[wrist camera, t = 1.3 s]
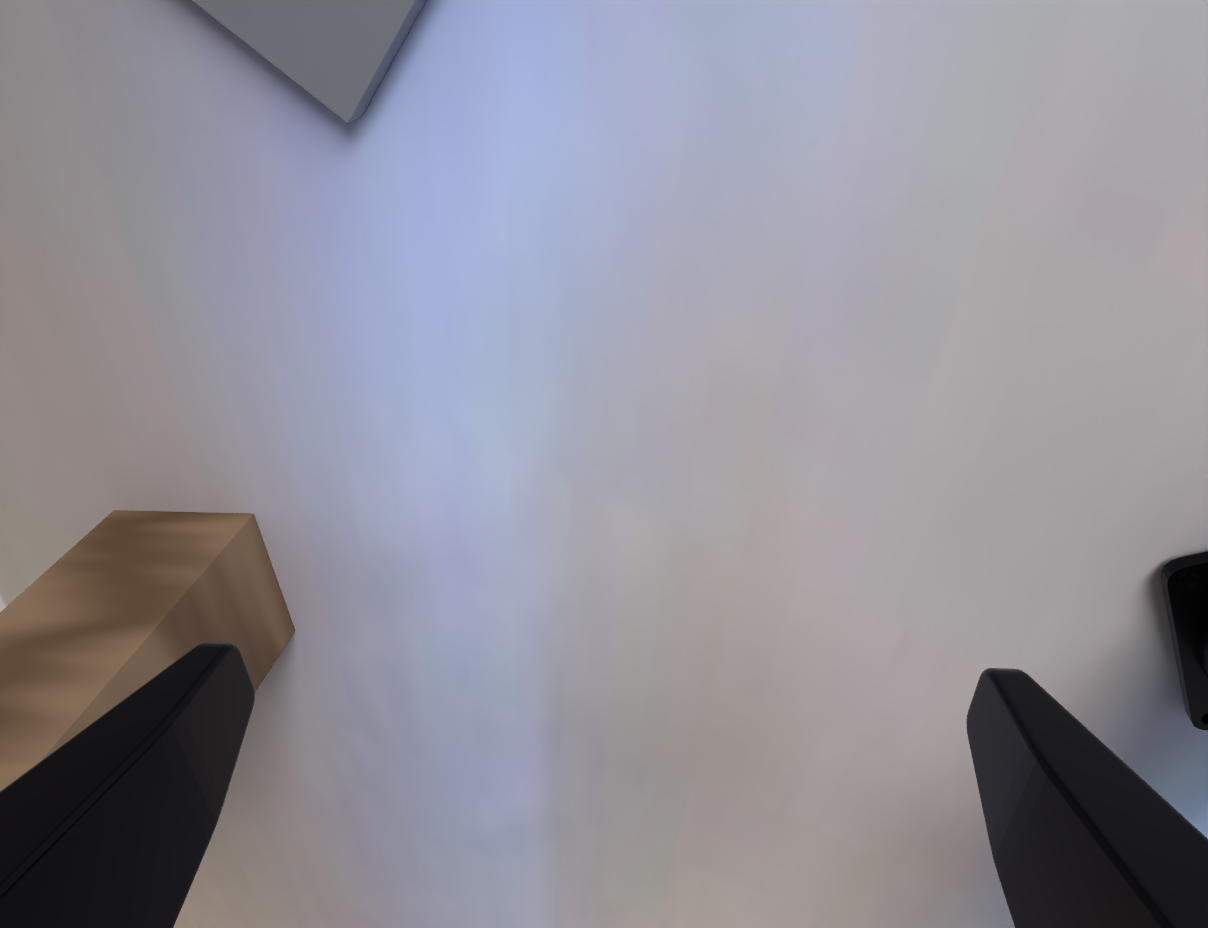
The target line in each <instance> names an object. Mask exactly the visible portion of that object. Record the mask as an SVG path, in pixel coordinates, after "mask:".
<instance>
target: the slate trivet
mask: <svg viewBox="0 0 1208 928" xmlns="http://www.w3.org/2000/svg"><path fill="white" fill-rule="evenodd" d="M192 1H193V2H195V3H196V4H197V5H198V6H200V7H201V8H202V9H204V10H205V11H206V12H207V13H209V14H210V15H211V16H212V17H214V18H215V19H216V20H217V21H219V22H220V23H221V24H223V25H224V26H225V27H226V28H228V29H229V30H230V31H231V32H233V33H234V34H235V35H237V36H238V37H239V38H240V39H242V40H243V41H244V42H245V43H247V44H248V45H249V46H250V47H252V48H253V49H254V50H256V51H257V52H258V53H259V54H261V55H262V56H263V57H264V58H266V59H267V60H268V61H269V62H271V63H272V64H273V65H275V66H276V67H277V68H278V69H280V70H281V71H282V72H283V73H285V74H286V75H287V76H288V77H290V78H291V79H292V80H294V81H295V82H296V83H297V84H299V85H300V86H301V87H302V88H304V89H305V90H306V91H308V92H309V93H310V94H311V95H313V96H314V97H315V98H316V99H318V100H319V101H320V102H321V103H323V104H324V105H325V106H327V107H328V108H329V109H330V110H332V111H333V112H334V113H335V114H337V115H338V116H339V117H340V118H342V119H343V120H344V121H346V122H347V123H349V122H351V121H353V120H356V119H358V118H360V117H361V116H362V115H363V113H364V111H365V109H366V107H367V106H368V104H369V102H370V100H371V98H372V97H373V95H374V93H375V91H376V90H377V88H378V86H379V84H380V82H381V81H382V79H383V77H384V75H385V73H386V72H387V70H388V68H389V66H390V64H391V63H392V61H393V59H394V57H395V55H396V54H397V52H398V50H399V48H400V46H401V45H402V43H403V41H404V39H405V38H406V36H407V34H408V32H409V30H410V29H411V27H412V25H413V23H414V21H415V20H416V18H417V16H418V14H419V12H420V11H421V9H422V7H423V5H424V3H425V2H426V0H192Z"/></svg>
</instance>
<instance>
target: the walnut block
mask: <svg viewBox="0 0 1208 928" xmlns="http://www.w3.org/2000/svg"><path fill="white" fill-rule="evenodd" d="M294 632H295V629H294V626H293V623H292V620H291V618H290V615H289V612H288V609H287V606H286V603H285V601H284V598H283V595H282V592H281V589H280V587H279V584H278V581H277V578H276V575H275V572H274V570H273V567H272V564H271V561H270V558H269V556H268V553H267V550H266V547H265V544H264V542H263V539H262V536H261V533H260V530H259V527H258V525H257V522H256V519H255V516H254V514H239V513H198V512H156V511H115V510H114V511H113V512H112V513H111V514H109V515H108V516H107V517H106V518H105V519H104V520H103V521H102V522H101V523H99V524H98V525H97V526H96V527H95V528H94V529H93V530H92V531H91V532H89V533H88V534H87V535H86V536H85V537H84V538H83V539H82V540H81V541H79V542H78V543H77V544H76V545H75V546H74V547H73V548H72V549H70V550H69V551H68V552H67V553H66V554H65V555H64V556H63V557H62V558H60V559H59V560H58V561H57V562H56V563H55V564H54V565H53V566H52V567H50V568H49V569H48V570H47V571H46V572H45V573H44V574H43V575H42V576H40V577H39V578H38V579H37V580H36V581H35V582H34V583H33V584H32V585H30V586H29V587H28V588H27V589H26V590H25V591H24V592H23V593H22V594H20V595H19V596H18V597H17V598H16V599H15V600H14V601H13V602H12V603H10V604H9V605H8V606H7V607H6V608H5V609H4V610H3V611H1V612H0V791H1V790H3V789H4V788H5V787H7V786H8V785H9V784H11V783H12V782H13V781H15V780H16V779H18V778H19V777H20V776H22V775H23V774H24V773H26V772H27V771H28V770H30V769H31V768H32V767H34V766H35V765H36V764H38V763H39V762H40V761H42V760H43V759H44V758H46V757H47V756H48V755H50V754H51V753H53V752H54V751H55V750H57V749H58V748H59V747H61V746H62V745H63V744H65V743H66V742H67V741H69V740H70V739H71V738H73V737H74V736H75V735H77V734H78V733H79V732H81V731H82V730H84V729H85V728H86V727H88V726H89V725H90V724H92V723H93V722H94V721H96V720H97V719H98V718H100V717H101V716H102V715H104V714H105V713H106V712H108V711H109V710H110V709H112V708H113V707H114V706H116V705H117V704H119V703H120V702H121V701H123V700H124V699H125V698H127V697H128V696H129V695H131V694H132V693H133V692H135V691H136V690H137V689H139V688H140V687H141V686H143V685H144V684H145V683H147V682H148V681H149V680H151V679H152V678H154V677H155V676H156V675H158V674H159V673H160V672H162V671H163V670H164V669H166V668H167V667H168V666H170V665H171V664H172V663H174V662H175V661H176V660H178V659H179V658H180V657H182V656H183V655H184V654H186V653H187V652H189V651H190V650H191V649H193V648H194V647H195V646H197V645H199V644H201V643H205V642H220V643H232V644H235V645H236V646H237V647H238V648H239V650H240V652H241V654H242V657H243V659H244V662H245V665H246V667H247V670H248V673H249V675H250V678H251V681H252V683H253V687H254V693H255V691H256V690H257V688H258V687H259V685H260V684H261V682H262V681H263V679H264V678H265V676H266V675H267V673H268V672H269V670H270V668H271V667H272V665H273V664H274V662H275V661H276V659H277V658H278V656H279V655H280V653H281V652H282V650H283V649H284V647H285V646H286V644H287V643H288V641H289V639H290V638H291V636H292V635H293V633H294Z"/></svg>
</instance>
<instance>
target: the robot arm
mask: <svg viewBox="0 0 1208 928" xmlns="http://www.w3.org/2000/svg"><path fill="white" fill-rule="evenodd" d="M1185 574H1190V575H1189V576H1188V577H1186V578H1183V579H1179V578H1180V577H1181V576H1183V575H1185ZM1161 579H1162V585H1163V590H1164V596H1165V601H1166V606H1167V612H1168V617H1169V623H1170V628H1171V634H1172V639H1173V645H1174V650H1175V655H1176V661H1177V666H1178V672H1179V677H1180V683H1181V688H1182V694H1183V699H1184V704H1185V710H1186V713H1187V715H1188V716H1189V718H1190V720H1191V722H1192V723H1193V725H1194V726H1195V727H1197V728H1198V729H1202V730H1208V551H1207V552H1203V553H1198V554H1194V555H1189V556H1185V557H1181V558H1177V559H1175V560H1172V561H1170V562H1169V563H1168V564H1166V565H1165V566H1164V568H1163V569H1162V571H1161ZM254 694H255V693H254V687H253V683H252V681H251V678H250V675H249V673H248V670H247V667H246V665H245V662H244V659H243V657H242V654H241V652H240V650H239V648H238V647H237V646H236V645H235V644H232V643H220V642H205V643H201V644H199V645H197V646H195V647H194V648H193V649H191V650H190V651H189V652H187V653H186V654H184V655H183V656H182V657H180V658H179V659H178V660H176V661H175V662H174V663H172V664H171V665H170V666H168V667H167V668H166V669H164V670H163V671H162V672H160V673H159V674H158V675H156V676H155V677H154V678H152V679H151V680H149V681H148V682H147V683H145V684H144V685H143V686H141V687H140V688H139V689H137V690H136V691H135V692H133V693H132V694H131V695H129V696H128V697H127V698H125V699H124V700H123V701H121V702H120V703H119V704H117V705H116V706H114V707H113V708H112V709H110V710H109V711H108V712H106V713H105V714H104V715H102V716H101V717H100V718H98V719H97V720H96V721H94V722H93V723H92V724H90V725H89V726H88V727H86V728H85V729H84V730H82V731H81V732H79V733H78V734H77V735H75V736H74V737H73V738H71V739H70V740H69V741H67V742H66V743H65V744H63V745H62V746H61V747H59V748H58V749H57V750H55V751H54V752H53V753H51V754H50V755H48V756H47V757H46V758H44V759H43V760H42V761H40V762H39V763H38V764H36V765H35V766H34V767H32V768H31V769H30V770H28V771H27V772H26V773H24V774H23V775H22V776H20V777H19V778H18V779H16V780H15V781H13V782H12V783H11V784H9V785H8V786H7V787H5V788H4V789H3V790H1V791H0V928H173V927H174V924H175V922H176V920H177V917H178V915H179V913H180V910H181V908H182V905H183V903H184V901H185V898H186V896H187V894H188V891H189V889H190V887H191V884H192V882H193V880H194V877H195V875H196V872H197V870H198V868H199V865H200V863H201V861H202V858H203V856H204V854H205V851H206V849H207V847H208V844H209V842H210V839H211V837H212V834H213V832H214V829H215V827H216V824H217V822H218V819H219V816H220V813H221V810H222V807H223V804H224V800H225V797H226V794H227V791H228V787H229V784H230V781H231V778H232V774H233V771H234V768H235V764H236V761H237V758H238V755H239V751H240V748H241V745H242V741H243V738H244V735H245V732H246V728H247V725H248V722H249V718H250V715H251V712H252V709H253V705H254ZM967 734H968V739H969V744H970V749H971V754H972V758H973V763H974V768H975V773H976V778H977V783H978V788H979V793H980V798H981V802H982V807H983V812H984V817H985V822H986V827H987V832H988V837H989V841H990V845H991V850H992V854H993V859H994V862H995V865H996V869H997V872H998V876H999V879H1000V882H1001V885H1002V888H1003V892H1004V895H1005V898H1006V901H1007V904H1008V907H1009V910H1010V913H1011V916H1012V919H1013V922H1014V926H1015V928H1208V839H1207V838H1206V837H1205V836H1204V835H1203V834H1202V833H1200V832H1199V831H1198V830H1197V829H1196V828H1195V827H1194V826H1193V825H1192V824H1191V823H1190V822H1188V821H1187V820H1186V819H1185V818H1184V817H1183V816H1182V815H1181V814H1180V813H1179V812H1177V811H1176V810H1175V809H1174V808H1173V807H1172V806H1171V805H1170V804H1169V803H1168V802H1167V801H1165V800H1164V799H1163V798H1162V797H1161V796H1160V795H1159V794H1158V793H1157V792H1156V791H1155V790H1153V789H1152V788H1151V787H1150V786H1149V785H1148V784H1147V783H1146V782H1145V781H1144V780H1143V779H1141V778H1140V777H1139V776H1138V775H1137V774H1136V773H1135V772H1134V771H1133V770H1132V769H1130V768H1129V767H1128V766H1127V765H1126V764H1125V763H1124V762H1123V761H1122V760H1121V759H1120V758H1118V757H1117V756H1116V755H1115V754H1114V753H1113V752H1112V751H1111V750H1110V749H1109V748H1108V747H1106V746H1105V745H1104V744H1103V743H1102V742H1101V741H1100V740H1099V739H1098V738H1097V737H1096V736H1094V735H1093V734H1092V733H1091V732H1090V731H1089V730H1088V729H1087V728H1086V727H1085V726H1083V725H1082V724H1081V723H1080V722H1079V721H1078V720H1077V719H1076V718H1075V717H1074V716H1073V715H1071V714H1070V713H1069V712H1068V711H1067V710H1066V709H1065V708H1064V707H1063V706H1062V705H1061V704H1059V703H1058V702H1057V701H1056V700H1055V699H1054V698H1053V697H1052V696H1051V695H1050V694H1049V693H1047V692H1046V691H1045V690H1044V689H1043V688H1042V687H1041V686H1040V685H1039V684H1038V683H1037V682H1035V681H1034V680H1033V679H1032V678H1031V677H1030V676H1029V675H1028V674H1026V673H1025V672H1023V671H1021V670H1018V669H1000V668H989V669H986V670H984V671H983V672H982V674H981V676H980V678H979V681H978V684H977V687H976V690H975V693H974V696H973V699H972V702H971V705H970V708H969V711H968V715H967Z"/></svg>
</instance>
